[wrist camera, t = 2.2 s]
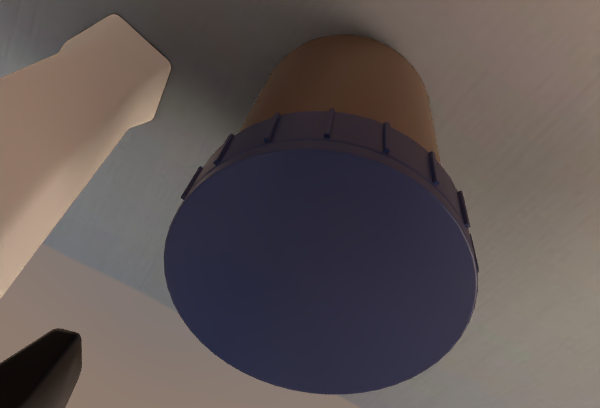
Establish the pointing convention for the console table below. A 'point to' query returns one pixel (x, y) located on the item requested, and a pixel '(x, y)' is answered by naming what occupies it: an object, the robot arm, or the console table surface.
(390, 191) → the jar lid
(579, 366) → the console table surface
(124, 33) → the white pentagonal vase
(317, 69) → the jar
